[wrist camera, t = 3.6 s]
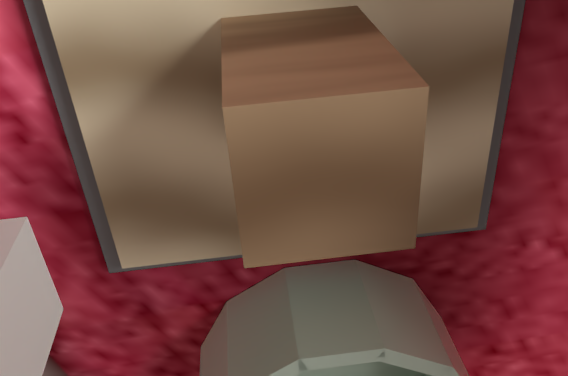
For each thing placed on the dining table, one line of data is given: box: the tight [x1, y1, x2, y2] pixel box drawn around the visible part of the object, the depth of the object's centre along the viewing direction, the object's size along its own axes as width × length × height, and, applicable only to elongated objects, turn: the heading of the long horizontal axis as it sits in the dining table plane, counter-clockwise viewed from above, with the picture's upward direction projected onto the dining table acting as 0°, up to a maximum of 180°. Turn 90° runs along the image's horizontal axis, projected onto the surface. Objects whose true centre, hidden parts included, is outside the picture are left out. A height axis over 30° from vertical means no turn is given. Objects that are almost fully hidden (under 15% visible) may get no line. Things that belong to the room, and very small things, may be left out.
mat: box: [23, 0, 525, 273], centre depth 22 cm, size 19×19×1 cm
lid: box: [42, 0, 514, 269], centre depth 18 cm, size 17×17×9 cm
